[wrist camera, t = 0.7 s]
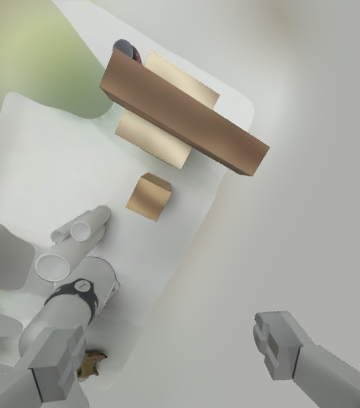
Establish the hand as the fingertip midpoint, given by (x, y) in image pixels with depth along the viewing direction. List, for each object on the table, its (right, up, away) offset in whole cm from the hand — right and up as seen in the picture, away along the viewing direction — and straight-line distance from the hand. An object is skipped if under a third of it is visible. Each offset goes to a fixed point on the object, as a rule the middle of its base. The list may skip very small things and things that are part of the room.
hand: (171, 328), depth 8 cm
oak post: (-7, +10, +43) cm, 45 cm away
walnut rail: (+1, +16, +15) cm, 22 cm away
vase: (-25, +1, +44) cm, 51 cm away
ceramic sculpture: (-34, -50, +55) cm, 82 cm away
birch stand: (-3, +24, +40) cm, 47 cm away
